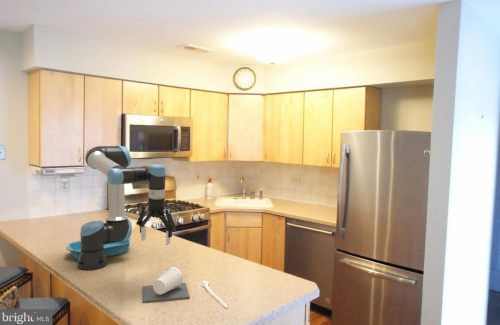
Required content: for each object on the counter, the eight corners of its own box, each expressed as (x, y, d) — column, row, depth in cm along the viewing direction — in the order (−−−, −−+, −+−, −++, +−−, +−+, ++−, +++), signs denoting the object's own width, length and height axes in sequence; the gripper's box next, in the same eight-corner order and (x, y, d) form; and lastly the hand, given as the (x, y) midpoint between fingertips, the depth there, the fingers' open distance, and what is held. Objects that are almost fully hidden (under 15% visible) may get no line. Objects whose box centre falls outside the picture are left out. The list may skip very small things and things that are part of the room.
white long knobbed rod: (233, 308, 164) (233, 301, 164) (224, 310, 162) (224, 303, 162) (207, 284, 188) (207, 279, 188) (199, 286, 186) (199, 280, 186)
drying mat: (142, 303, 165) (142, 300, 165) (142, 288, 181) (142, 286, 181) (189, 298, 171) (189, 296, 171) (185, 284, 186) (185, 282, 186)
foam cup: (157, 301, 169) (172, 290, 182) (172, 291, 166) (186, 280, 179) (146, 283, 171) (162, 273, 183) (160, 272, 168) (175, 263, 180)
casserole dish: (73, 265, 209) (73, 252, 208) (61, 255, 225) (61, 243, 225) (137, 252, 233) (137, 241, 232) (122, 244, 250) (122, 233, 249)
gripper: (129, 196, 181) (128, 240, 183) (176, 202, 172) (174, 248, 175) (138, 193, 188) (138, 236, 190) (184, 199, 180) (182, 243, 182)
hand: (155, 242), depth 182 cm, fingers open, 13 cm apart
